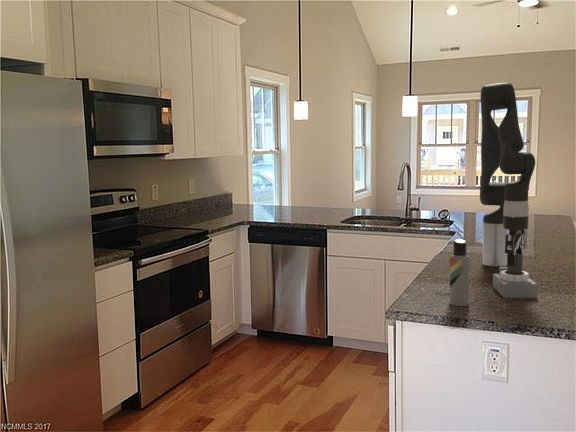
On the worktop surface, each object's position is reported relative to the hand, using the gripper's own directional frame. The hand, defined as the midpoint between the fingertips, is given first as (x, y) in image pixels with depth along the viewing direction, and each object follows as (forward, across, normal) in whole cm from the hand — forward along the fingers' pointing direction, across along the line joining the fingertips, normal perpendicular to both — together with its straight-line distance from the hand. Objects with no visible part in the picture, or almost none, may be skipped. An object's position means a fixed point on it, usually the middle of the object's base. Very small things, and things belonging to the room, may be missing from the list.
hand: (514, 263), depth 179 cm
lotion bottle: (+10, +22, -10) cm, 26 cm away
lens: (+5, 0, 0) cm, 5 cm away
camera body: (+10, 0, 0) cm, 10 cm away
